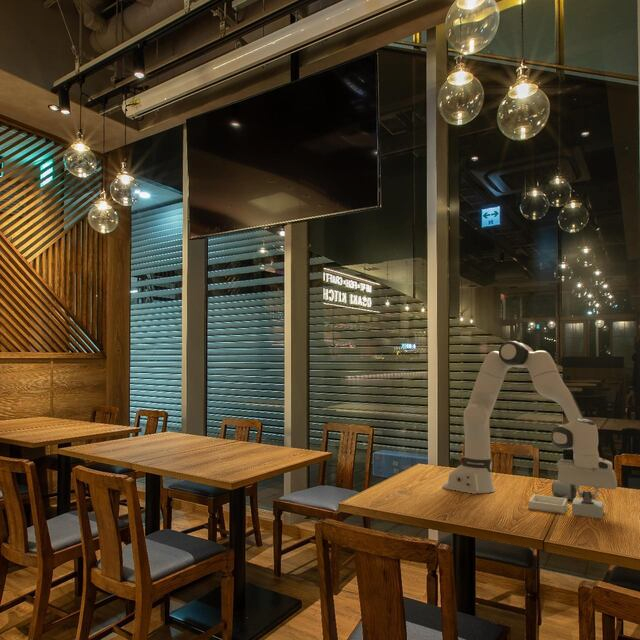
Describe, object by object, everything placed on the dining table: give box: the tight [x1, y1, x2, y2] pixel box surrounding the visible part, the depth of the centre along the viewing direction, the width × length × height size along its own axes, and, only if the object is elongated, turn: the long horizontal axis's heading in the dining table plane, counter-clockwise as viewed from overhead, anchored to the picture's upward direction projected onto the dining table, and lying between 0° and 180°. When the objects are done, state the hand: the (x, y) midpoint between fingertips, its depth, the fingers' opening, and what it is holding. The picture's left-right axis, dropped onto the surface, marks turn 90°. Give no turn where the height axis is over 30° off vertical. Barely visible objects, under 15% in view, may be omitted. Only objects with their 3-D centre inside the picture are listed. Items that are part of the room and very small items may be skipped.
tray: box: [528, 493, 569, 515], centre depth 206 cm, size 13×13×3 cm
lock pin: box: [582, 490, 593, 504], centre depth 199 cm, size 3×3×8 cm
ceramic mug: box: [551, 479, 578, 501], centre depth 219 cm, size 11×8×8 cm
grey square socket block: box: [571, 497, 604, 520], centre depth 199 cm, size 10×10×4 cm
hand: (587, 497), depth 199 cm, fingers closed on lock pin, 3 cm apart
